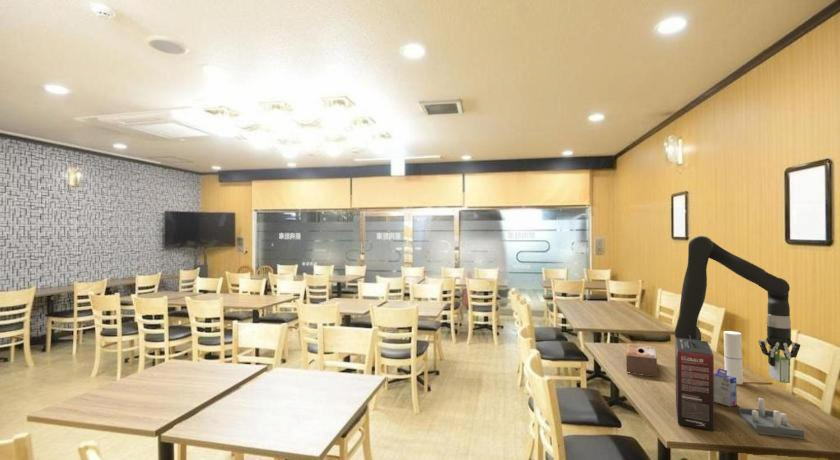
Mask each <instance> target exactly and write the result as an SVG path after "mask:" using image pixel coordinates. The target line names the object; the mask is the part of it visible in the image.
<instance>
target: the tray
mask: <svg viewBox="0 0 840 460" xmlns="http://www.w3.org/2000/svg"><path fill="white" fill-rule="evenodd" d="M757 400H758V401H757V402H758V404H757V405H758V408H749V407H740V406H739V407H738V415H739V416H740V417H741V418H742V419H743V420H744V421H745V422H746V424H748V425H749V426H750V428H752V429H753V430H754V431H755V432H756V433H757V434H761V435H769V436H775V437H776V436H778V437H785V438H786V437H787V438H794V439H803V440H804V439H805V430H804V429H801V428H795V427H794V426H793V425H792V424H791V423H789V422H788V416H787V415H788V414H787V413H784V412H781V411H779V410H777V409H776V410H775V409H774V410H770V409H769V410H768V409H766V404H765V403H766V399H765V398H762V397H758V399H757Z"/></svg>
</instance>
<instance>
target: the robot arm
mask: <svg viewBox="0 0 840 460" xmlns="http://www.w3.org/2000/svg"><path fill="white" fill-rule="evenodd" d="M687 249H688V253H687V254H688V255H687V256H688V257H687V258H688V259H687V267H686V270H685V274H684V278H683V282H682V288H681V296H680V304H679V305H680V306H679V307H680V308H679V313H678V314H679V315H678V320H677V323H676V326H675V328H674V329H675V330H674V337H675V339H676V338H682V339H690V337H691V339H694V340H702V332H701V329H700V328H699V327H698V319H699V315H700V313H701V311H702V308H703V305H704V302H705V301H706V300H705V299H706V296H707V295H706V294H707V287H708V278H707V277H708V276H707V269H708V268H707V267H708V262H709V259H711V260H713V261H715V262H717V263H718V264H720V265H722V266H724V267H725V268H727V269H728V270H730V271H731V272H733V273H734V274H736V275H738V276H740V277H741V278H743V279H745V280H747V281H749V282H751V283H753V284H754V285H757V286H758V287H760V288H761V289H763V290H765V291H766V292H767V299H768V300H767V316H766V335H767V337H766V338H765V339H763V340H761V339H758V345H759V346H760V350H761V352H762V354H763V355H765V356H767V361H768V365H769V364H770V365H771V366H774V355H775V353H776V354H777V352H776V349H778V350H780V351H782V354H783V357H785V358H787V359H790V360H791V359H792V358H793V359H794V358H797V356H798V354H799V352H800V347H801V344H799V343H798V342H793V340H792V326H791V325H792V321H791V314H790V313H791V309H790V303H789V297H790V296H789V293H790V290H791V287H790V284H789V283H788V281H787V280H785V279H784V278H781V277H778V276H775V275H773V274H772V273H769V272H767V271H766V270H765V269H764V268H761V267H759V266H758V265H756V264H754V263H752V262H750V261H748V260H746V259H744V258H742V257H739V256H737V255H736V254H734V253H731V252H729V251H728V250H726V249H724V248H723V247H721V246H720V245H718V244H717V243H715V242H714V241H712V239H711V238H709V237H708V236H703V235H699V236H695V237H693V238H691V240H690V241H689V242H688V248H687ZM689 335H690V336H689ZM767 345H768V348H767ZM769 346H770V347H769ZM771 347H772V348H773V349H772V348H771ZM790 347H792V348H791V350H789V348H790Z"/></svg>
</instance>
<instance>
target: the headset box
mask: <svg viewBox="0 0 840 460" xmlns="http://www.w3.org/2000/svg"><path fill="white" fill-rule="evenodd" d="M689 336H690V335H689ZM674 349H675V350H674V351H675V353H674V354H675V356H674V357H675V407H676V408H675V409H676V417H677V424H678V425H683V426H687V427H693V428H697V429H703V430H707V431H711V432H714V431H715V430H714V429H715V428H714V427H715V426H714V425H715V422H714V421H715V418H714V417H715V416H714V414H715V409H714V408H715V406H714V405H715V404H714V403H715V402H714V372H715V371H714V369H715V368H714V365H715V364H714V363H715V362H714V353H713V351H712V348H711V345H709V342H708V341H706V340H702V339H701V340H694V339H691V337H690V339H682V338H676V337H675V347H674Z"/></svg>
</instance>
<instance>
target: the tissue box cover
mask: <svg viewBox="0 0 840 460" xmlns="http://www.w3.org/2000/svg"><path fill="white" fill-rule="evenodd" d="M626 346H627V347H626V358H625V359H626V373H627V372H630V373H636V374H635V375H638V374H643V375H642V376H645V375H650V376H649V377H653V376H656V377H655V378H658V359H657V358H658V357H657V351H656V346H651V345H650V346H649V345H643V344H642V345H640V344H630V343H627V345H626ZM630 373H629V374H630Z"/></svg>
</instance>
